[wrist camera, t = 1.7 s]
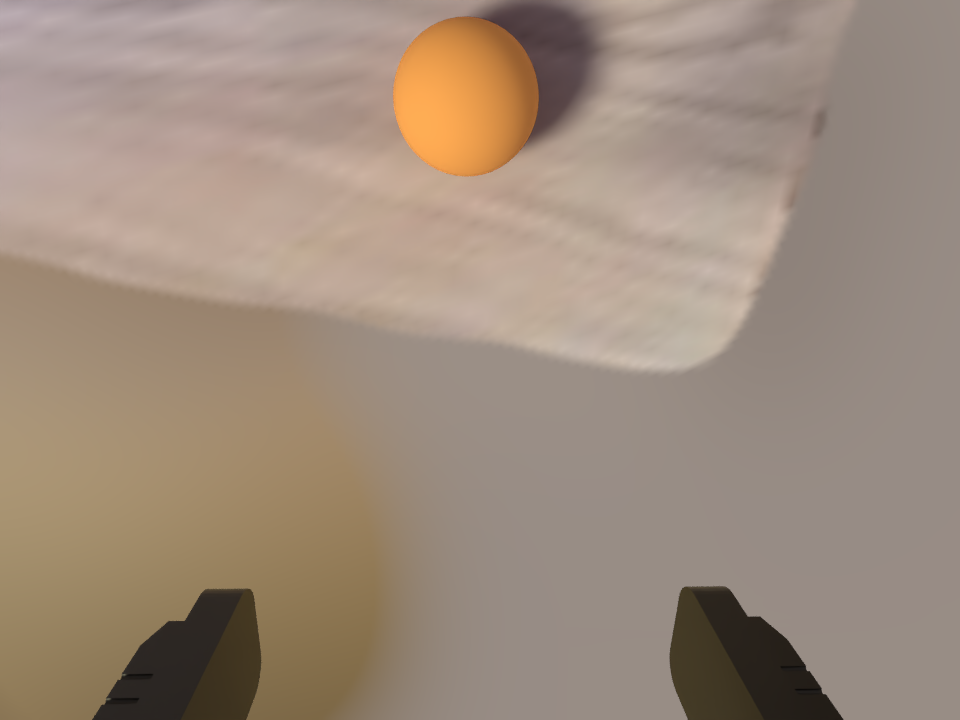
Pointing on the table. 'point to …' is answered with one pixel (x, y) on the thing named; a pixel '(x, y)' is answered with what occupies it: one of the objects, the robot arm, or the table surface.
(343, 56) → the table surface
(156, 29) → the table surface
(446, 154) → the ball
